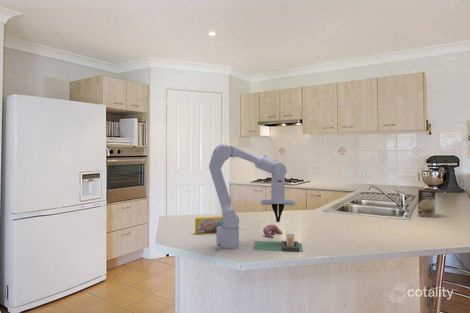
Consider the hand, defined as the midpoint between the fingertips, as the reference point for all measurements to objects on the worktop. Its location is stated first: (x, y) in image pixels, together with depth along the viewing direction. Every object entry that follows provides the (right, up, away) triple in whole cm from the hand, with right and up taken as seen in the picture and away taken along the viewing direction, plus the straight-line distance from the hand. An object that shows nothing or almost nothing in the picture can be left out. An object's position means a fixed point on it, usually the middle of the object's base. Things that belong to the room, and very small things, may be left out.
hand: (278, 221), depth 134 cm
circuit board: (-1, -11, -4) cm, 11 cm away
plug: (+4, -10, -7) cm, 12 cm away
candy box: (-30, -10, +20) cm, 38 cm away
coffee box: (+99, -9, +56) cm, 115 cm away
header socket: (+4, -11, -6) cm, 13 cm away
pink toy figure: (-1, -10, +13) cm, 16 cm away
